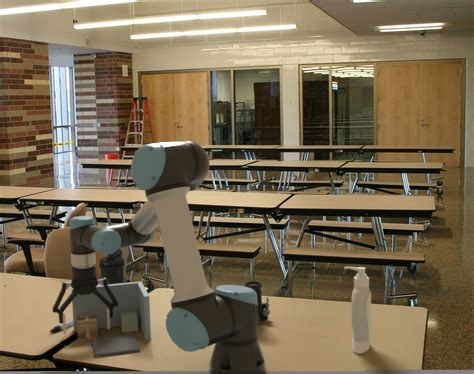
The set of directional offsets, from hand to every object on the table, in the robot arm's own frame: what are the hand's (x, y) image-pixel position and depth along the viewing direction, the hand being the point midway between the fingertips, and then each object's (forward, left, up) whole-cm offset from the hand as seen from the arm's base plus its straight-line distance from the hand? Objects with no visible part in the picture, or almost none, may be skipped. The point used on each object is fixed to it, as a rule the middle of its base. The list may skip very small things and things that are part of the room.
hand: (86, 330), depth 200 cm
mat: (-12, -8, -2) cm, 14 cm away
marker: (+11, +6, -2) cm, 12 cm away
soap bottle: (-37, -76, -2) cm, 85 cm away
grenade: (+34, -12, -2) cm, 36 cm away
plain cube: (+2, -14, -2) cm, 14 cm away
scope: (-7, -54, -2) cm, 55 cm away
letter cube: (0, 0, -2) cm, 2 cm away
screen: (-2, -8, -2) cm, 9 cm away
